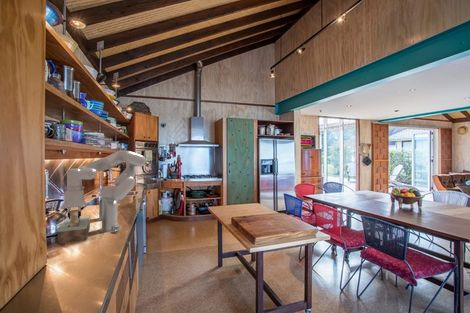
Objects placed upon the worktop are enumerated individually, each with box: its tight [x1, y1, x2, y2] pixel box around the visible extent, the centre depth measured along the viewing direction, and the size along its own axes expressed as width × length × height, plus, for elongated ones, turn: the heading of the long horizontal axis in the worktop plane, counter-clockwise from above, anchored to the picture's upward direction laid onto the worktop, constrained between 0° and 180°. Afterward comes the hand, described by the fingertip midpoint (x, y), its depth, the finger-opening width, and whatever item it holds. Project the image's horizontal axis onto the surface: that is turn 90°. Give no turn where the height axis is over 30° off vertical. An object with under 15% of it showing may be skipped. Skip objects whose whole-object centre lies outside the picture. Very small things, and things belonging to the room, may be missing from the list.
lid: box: [57, 215, 91, 233], centre depth 150 cm, size 14×26×6 cm, turn 28°
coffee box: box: [98, 198, 102, 221], centre depth 192 cm, size 9×6×16 cm
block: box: [70, 209, 79, 227], centre depth 143 cm, size 4×4×14 cm
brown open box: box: [57, 219, 91, 245], centre depth 150 cm, size 14×26×8 cm, turn 28°
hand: (74, 217), depth 143 cm, fingers closed on block, 4 cm apart
